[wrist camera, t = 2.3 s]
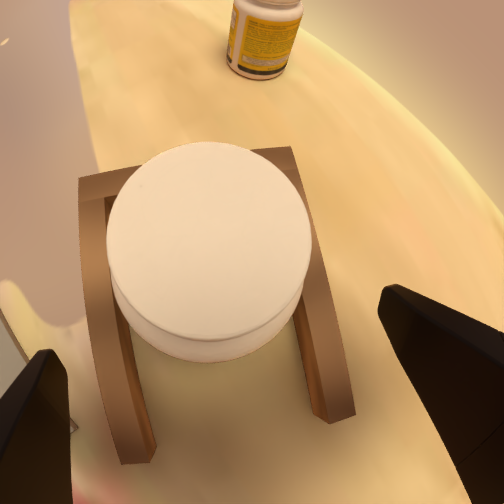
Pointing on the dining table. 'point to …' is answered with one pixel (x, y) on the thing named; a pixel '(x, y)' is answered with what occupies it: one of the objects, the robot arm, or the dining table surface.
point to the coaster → (12, 360)
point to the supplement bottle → (262, 36)
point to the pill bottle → (208, 251)
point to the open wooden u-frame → (118, 335)
